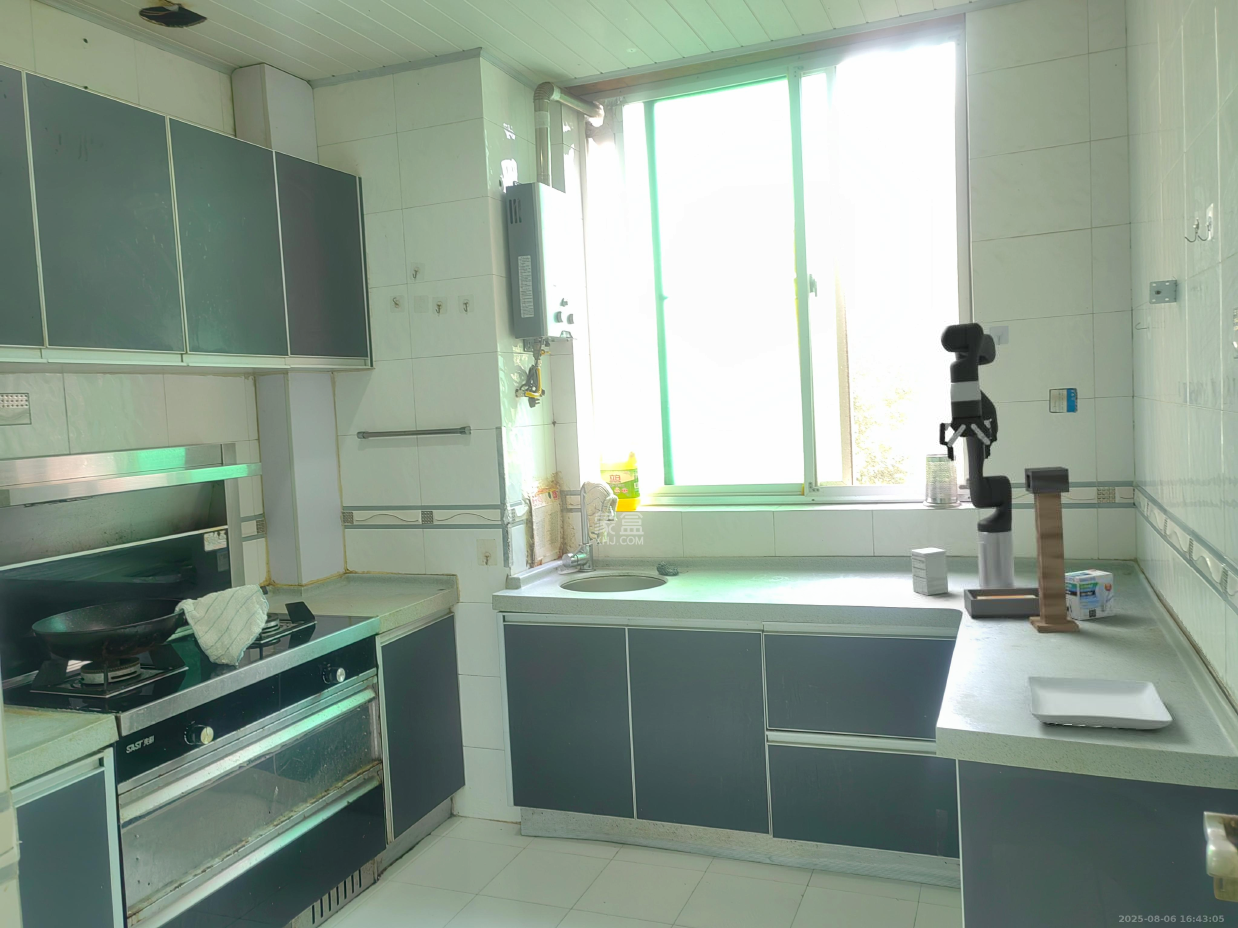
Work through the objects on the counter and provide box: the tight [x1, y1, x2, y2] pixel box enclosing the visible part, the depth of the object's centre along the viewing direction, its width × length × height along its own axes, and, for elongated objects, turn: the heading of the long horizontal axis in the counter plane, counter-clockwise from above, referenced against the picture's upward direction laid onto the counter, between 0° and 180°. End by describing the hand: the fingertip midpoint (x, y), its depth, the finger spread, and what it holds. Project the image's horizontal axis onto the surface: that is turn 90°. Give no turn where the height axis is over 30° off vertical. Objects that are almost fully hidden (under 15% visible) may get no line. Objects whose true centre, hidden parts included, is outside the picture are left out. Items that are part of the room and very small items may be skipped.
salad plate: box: [1025, 675, 1173, 730], centre depth 160 cm, size 21×21×3 cm
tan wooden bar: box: [977, 595, 1035, 599], centre depth 235 cm, size 3×14×3 cm, turn 77°
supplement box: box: [910, 547, 949, 596], centre depth 265 cm, size 7×7×13 cm
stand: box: [1024, 466, 1080, 633], centre depth 216 cm, size 9×9×38 cm
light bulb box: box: [1065, 569, 1115, 621], centre depth 225 cm, size 11×7×11 cm, turn 105°
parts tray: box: [963, 586, 1040, 620], centre depth 235 cm, size 13×20×5 cm, turn 77°
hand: (969, 459), depth 240 cm, fingers open, 8 cm apart
